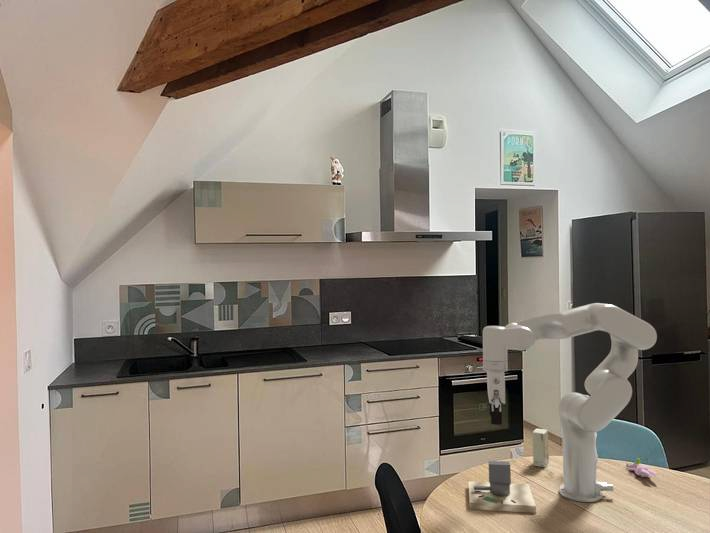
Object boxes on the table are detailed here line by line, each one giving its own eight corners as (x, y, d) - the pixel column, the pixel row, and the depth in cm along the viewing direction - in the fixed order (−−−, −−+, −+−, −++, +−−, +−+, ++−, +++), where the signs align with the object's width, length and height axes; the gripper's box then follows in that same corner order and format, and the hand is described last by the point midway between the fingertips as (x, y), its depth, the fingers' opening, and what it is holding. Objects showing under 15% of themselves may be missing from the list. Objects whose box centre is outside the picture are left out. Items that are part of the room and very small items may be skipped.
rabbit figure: (622, 472, 183) (644, 482, 169) (620, 454, 185) (642, 462, 170) (639, 471, 183) (664, 481, 169) (637, 454, 184) (661, 462, 170)
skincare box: (545, 468, 186) (544, 434, 186) (533, 466, 188) (531, 432, 188) (549, 462, 191) (548, 429, 191) (537, 460, 193) (536, 427, 194)
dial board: (528, 490, 167) (528, 483, 167) (536, 512, 152) (535, 505, 152) (468, 487, 171) (468, 480, 171) (469, 509, 155) (469, 501, 155)
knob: (509, 488, 164) (508, 459, 164) (511, 496, 158) (510, 466, 158) (473, 486, 166) (472, 458, 166) (474, 494, 160) (473, 465, 160)
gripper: (509, 370, 154) (510, 428, 154) (505, 361, 171) (506, 413, 170) (483, 369, 156) (484, 427, 155) (482, 360, 172) (482, 412, 172)
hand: (495, 419), depth 163 cm, fingers open, 9 cm apart
